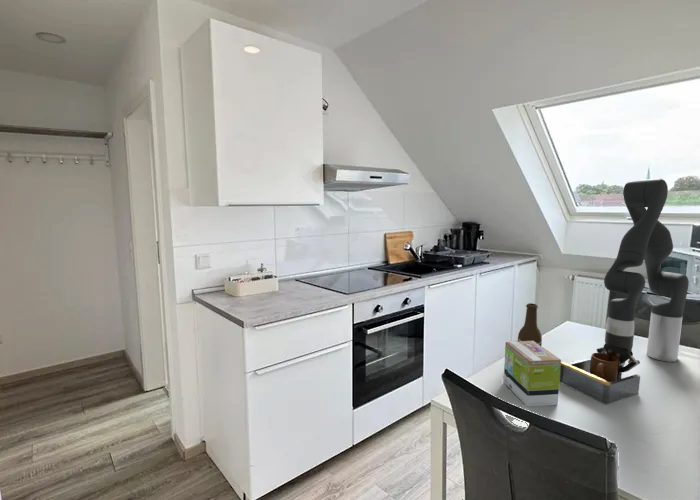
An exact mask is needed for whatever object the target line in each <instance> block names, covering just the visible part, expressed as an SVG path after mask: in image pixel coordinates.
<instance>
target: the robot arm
mask: <svg viewBox="0 0 700 500" xmlns="http://www.w3.org/2000/svg"><path fill="white" fill-rule="evenodd" d="M622 194H623V202H624V204H625V207H626V209H627V211H628V213H629V216H630V218H631V221H632V223H633V226H632V227H631V228H629V229H628V231H626V233H625V234H624V236H623V237H622V239H621V241H620V244H619V248H618V253H617V256H616V257H615V260H614V261H613V263H612V265H611V267H610V268H609V269H608V271H607V272H606V274H605V275H604V279H603V284H604V287H605V288H606V289H607V291H611V292H614V293H615V292H616V293H621V294H628V295H627V297H626V298H613V299H610V300H609V302H608V303H609V304H608V313H607V318H606V325H605V334H604V342H605V343H603V344H604V345H603V347H597V348H596V353H605V354H608V355H609V360H608V361H613V356H615V357H616V358H618V375H617V380H618V379H622V375H623V374H622V373H626V372H627V373H628V372H629V371H630V370H632V369H634V368H635V367H636V366H638V365H639V364H641V361H640V360H638V359H636V358H635V357H634V353H633V351H632V350H633V347H634V346H633V345H634V337H635V317H636V308H637V304H638V301H639V299H640V297H641V295H642V292H643V291H644V289H645V286H646V280H645V277H644V276H643V274H641V273H640V272H634V271H625V270H626V269H628V268H636V267H637V268H638V267H640V266H642V265H643V263H644V264H645V270H646V276H647V284H648V288H649V290H650V293H652V294H654V295H657V296H662V297H666V298H667V297H668V298H670V301H668V302H662V303H654V304H653V305H652V306H651V310H650V311H651V312H650V318H649V319H650V321H649V329H648V338H647V346H646V356H648V357H649V358H652V359H655V360H658V361H662V362H668V363H674V362H677V361H678V357H679V349H680V342H681V341H680V340H681V332H682V324H683V317H684V310H685V307H686V299H687V296H688V292H689V277H688V276H687V275H685V274H683V273H677V272H671V271H664V270H663V268H662V264H663V263H664V262H665V261H666V260H667V259H668V257H669V256H670V255H671V254H672V252H673V250H674V244H673V240H672V234H671V232H670V230H669V229H668V227H667V226H666V225H664V224H663V223H662V222H661V221H659V217H660V215H661V213H662V211H663V209H664V206H665V204H666V201H667V198H668V194H669V189H668V184H667V182H666V181H665V179H662V178H649V179H637V180H635V179H634V180H631V181H628V182H626V183H625V185H624V187H623V190H622ZM646 208H647V209H646ZM610 359H611V360H610ZM627 361H628V363H627V364H626V362H627Z"/></svg>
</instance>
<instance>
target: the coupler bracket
mask: <svg viewBox="0 0 700 500" xmlns="http://www.w3.org/2000/svg"><path fill="white" fill-rule="evenodd" d="M590 362H591V356H590V357H586V358H583V359H578V360H575V361H571V362H565V361H561V369H560V381H559V383H561V384H563V385H565V386H567V387H569V388H571V389H573V390H575V391H578V392H580V393H581V394H583V395H585V396H587V397H590V398H591V399H593V400H596V401H598V402H599V403H601V404H604V405H608V404H612V403H615V402H618V401H620V400H621V401H622V400H623V399H627V398H630V397H633V396H636V395H639V392H640V391H639V390H640V385H641V384H640V381H641V375H639V374H638V373H637V374H633V375H630V376H629V375H628V376H626V377H621V379H618V380H615V381H612V382H609V381H606V380H604V379H602V378H599V377H597V376H595V375H592V374H590Z"/></svg>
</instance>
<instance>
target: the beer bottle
mask: <svg viewBox="0 0 700 500" xmlns="http://www.w3.org/2000/svg"><path fill="white" fill-rule="evenodd" d="M525 308H526V312H525V317H524V324H523V326H522V328H520V329H519V331H518V335H517V341H534V342H536V343H537V344H539V345H540V346H542V343H543V336H542V333H541V330H540V328H539V327H538V321H537V320H538V312H537V311H538V309H539V306H538V304H536V303H527V304H526V305H525Z"/></svg>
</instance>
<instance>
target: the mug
mask: <svg viewBox="0 0 700 500" xmlns="http://www.w3.org/2000/svg"><path fill="white" fill-rule="evenodd" d="M590 357H591V362H590V374H592V375H595V376H597V377H599V378H602V379H604V380H606V381H609V382H612V381H615V380H617V375H618V358H616V357H615V356H613V361H608V360H609V355H608V354H605V353H598V352H593V353H591V356H590ZM610 360H611V359H610Z"/></svg>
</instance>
